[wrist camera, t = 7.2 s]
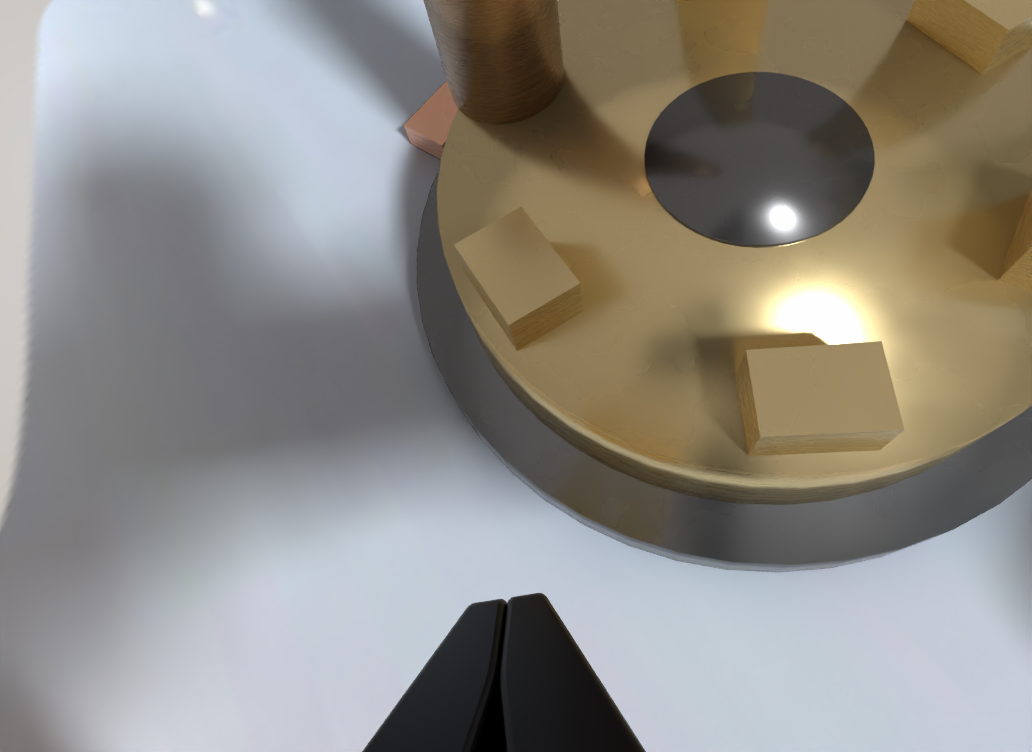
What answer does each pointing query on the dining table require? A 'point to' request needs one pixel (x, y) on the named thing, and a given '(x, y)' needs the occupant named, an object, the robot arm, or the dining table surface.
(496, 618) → the robot arm
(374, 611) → the dining table surface
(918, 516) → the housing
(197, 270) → the dining table surface
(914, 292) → the brass turntable disc
